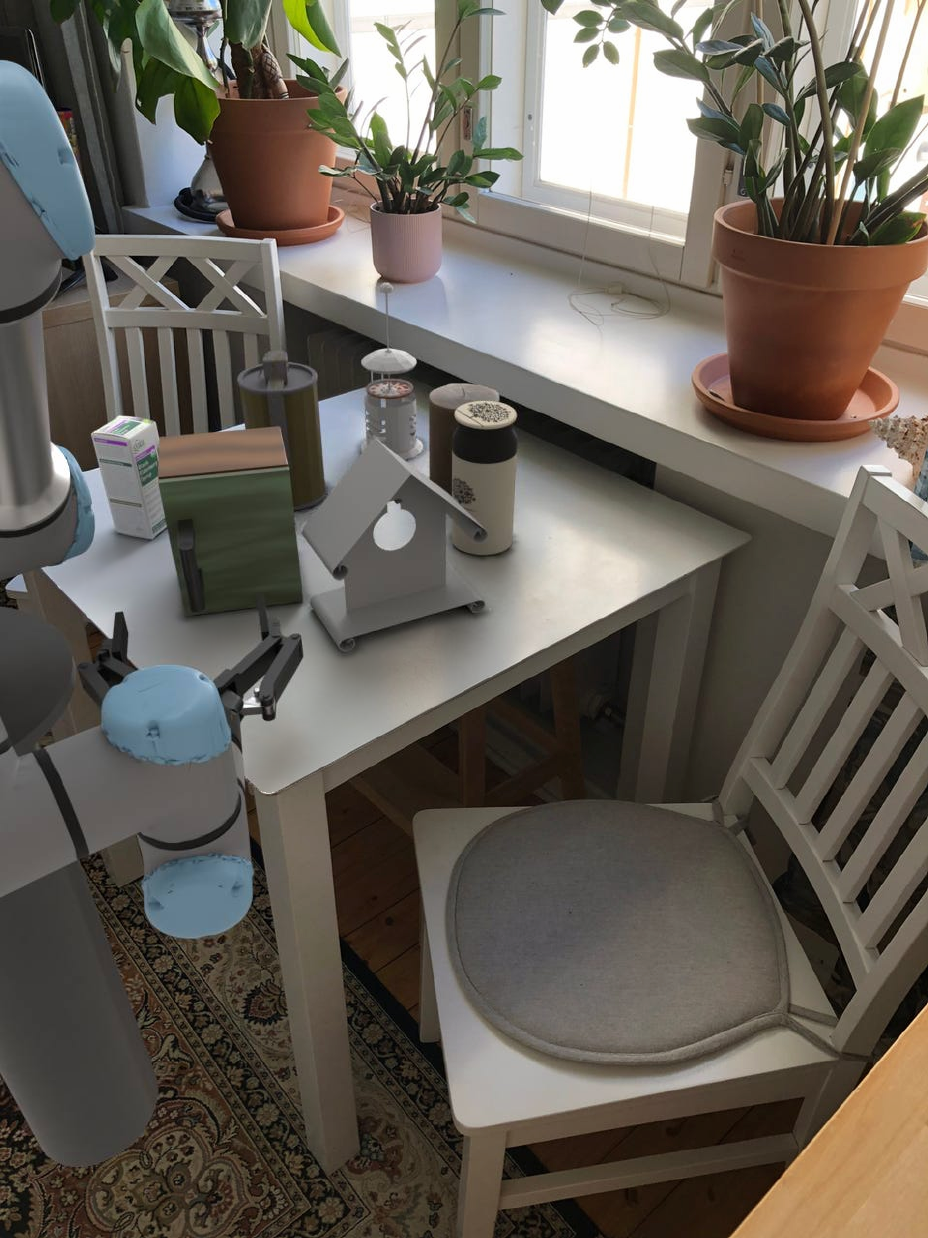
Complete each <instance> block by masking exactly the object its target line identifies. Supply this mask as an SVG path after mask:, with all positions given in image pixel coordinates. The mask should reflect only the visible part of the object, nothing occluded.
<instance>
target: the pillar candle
mask: <svg viewBox="0 0 928 1238" xmlns="http://www.w3.org/2000/svg"><path fill="white" fill-rule="evenodd" d="M428 398H429V399H428V405H429V408H428V418H429V419H428V426H429V428H428V433H429V434H428V435H429V436H428V437H429V439H428V440H429V442H428V443H429V444H428V445H429V446H428V452H429V454H428V456H429V457H428V458H429V477H428V478H429V479H430V480H431V481H433V482H434V483H435V484H436V485H438V486H439V487H440V488H442V489H443V490H444V491H446V492H447V493H448V494H449V495H450V496H451V497H452V437H453V434H454V433H455V431H456V429H457V427H458V423H457V420H456V418H455V411H456V409H457V408H458V407H460V406H461V405H464V404H466V403H470V402H475V401H494V402H499V403H500V393H499V392H498V391H496V390H495V389H493V388H490V387H488V386H485V385H484V386H483V385H480V384H471V383H448V384H446V385H443V386H440V387H437V388H434V389H433V390H432V391H431V392H430V393H429V396H428Z"/></svg>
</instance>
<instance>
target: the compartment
mask: <svg viewBox="0 0 928 1238" xmlns="http://www.w3.org/2000/svg"><path fill="white" fill-rule="evenodd" d="M280 467H288V462H287V457H286V453H285V448H284V444H283V439H282V434H281V430H280V426H278V427H267V428H256V429H245V428H244V429H234V430H224V431H223V430H222V431H213V432H202V433H191V434H179V435H168V436H167V435H166V436H159V461H158V480H159V479H170V478H180V477H190V476H200V475H210V474H220V473H230V472H240V471H250V470H260V469H270V468H280Z"/></svg>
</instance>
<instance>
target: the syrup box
mask: <svg viewBox="0 0 928 1238" xmlns="http://www.w3.org/2000/svg"><path fill="white" fill-rule="evenodd" d="M90 437H91V440H92V444H93V448H94V450H95V451H94V452H95V456H96V459H97V460H96V461H97V463H98V467H99V472H100V475H101V479H102V483H103V487H104V490H105V495H106V498H107V501H108V505H109V510H110V514H111V517H112V521H113V526H114V529H115V531H116V533H118V534H122V535H126V536H130V537H135V538H140V539H145V540H154V539H155V538H156V536H158V535H159V534H160V533H161V532H162V531H164V530H165V529H167V524H166V519H165V514H164V509H163V505H162V500H161V495H160V490H159V485H158V461H159V437H160V436H159V432H158V426H157V423H156V421H154V420H151V419H147V418H143V417H139V416H132V415H131V416H129V415H117V416H116V417H115V418H114V419H112V420H111V421H110V422H108V423H106V424H104V425H103V426H101V427H99V428H98V429H96V430H94V431H92V432H91V433H90Z"/></svg>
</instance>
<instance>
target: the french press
mask: <svg viewBox="0 0 928 1238" xmlns="http://www.w3.org/2000/svg"><path fill="white" fill-rule="evenodd" d="M393 292H394V287H393V285H392V284H391V283H389V282H382V283H381V284H380V285H379V293H381V294H384V295H385V318H386V323H385V324H386V342H387V343H386V345H387V346H386V347H387V348H382V349H381V348H380V349H377V350H375V351H373V352H371V353H369V354H367V355H365V356H364V357H363V358H362V359H361V361H360V362H361V366H362V367H363V368H364V369H366V370H368V371H370V375H371V379H370V380H371V382H369V383H368V384H367V385H366V386H365V392H366V394H365V395H364V398H363V402H364V403H363V404H364V415H365V416H364V419H365V420H364V422H365V440H364V441H363V442H362V444H361V445H360V452H361V454H362V453H363V451H364V450H365V449H366V448H367V446H368V445H369V444H370V442H371V441H372V440H373V439H374V437H375V438H376V439H377V440H379V441H380V442H381V443H382V444H384V445H385V446H386V447H388V448H389V449H390V450H392V451H393V452H394V453H396V454H397V455H398V456H400V457H401V458H402V459H404V460H405V461H406V460H409V459H412V458H413V459H414V458H415V457H416V456H418V455H420V454H421V453H422V451H423V450H424V445H423V442H422V441H421V440H420V439H419V438H418V436H417V434H418V433H417V432H418V431H417V430H418V429H417V396H416V393H415V392H413V391H414V390H415V387H414V385H413V384H412V383H411V382H410V381H407V380H404V379H398V378H397V379H396V378H391V375H398V374H403V373H407V372H409V371H412V370H413V369H414V368H415V367H416V365H417V363H418V362H417V359H416V357H414V356H412V355H411V354H410V353H408V352H406V351H404V350H400V349H395V348H392V347H391V348H390V338H389V337H390V336H389V334H390V333H389V305H388V294H390V293H393ZM374 373H375V374H378V375H379V374H380V375H381V379H376V380H374V376H373V375H374ZM384 375H388V376H387V377H388V378H384ZM404 398H410V399H412V400H413V401H408V400H404V401H402V399H404ZM382 400H384V402H385V407H384V406H382ZM367 413H368V414H367ZM383 422H384V424H383Z"/></svg>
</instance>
